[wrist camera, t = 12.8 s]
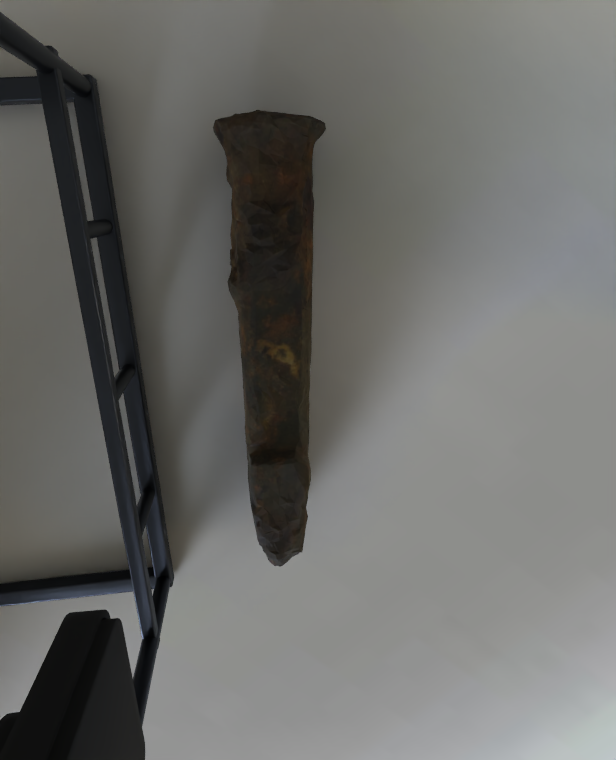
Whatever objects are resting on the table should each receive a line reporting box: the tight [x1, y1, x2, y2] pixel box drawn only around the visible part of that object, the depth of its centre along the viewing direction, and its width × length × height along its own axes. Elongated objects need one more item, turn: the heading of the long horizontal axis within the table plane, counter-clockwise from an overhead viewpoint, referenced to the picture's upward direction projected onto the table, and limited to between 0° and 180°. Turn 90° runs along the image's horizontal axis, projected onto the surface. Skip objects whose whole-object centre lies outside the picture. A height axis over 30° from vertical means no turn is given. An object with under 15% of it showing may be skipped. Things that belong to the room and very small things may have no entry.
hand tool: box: [213, 110, 326, 566], centre depth 23 cm, size 19×4×5 cm, turn 177°
